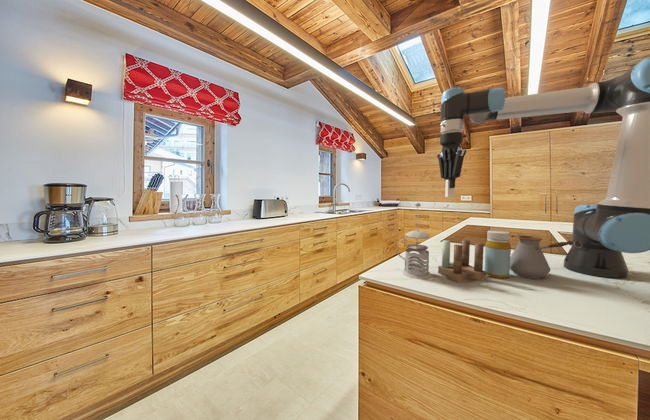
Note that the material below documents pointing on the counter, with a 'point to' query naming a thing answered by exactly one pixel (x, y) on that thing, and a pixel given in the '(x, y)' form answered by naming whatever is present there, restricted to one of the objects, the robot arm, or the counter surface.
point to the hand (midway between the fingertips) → (449, 196)
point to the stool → (465, 264)
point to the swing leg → (446, 254)
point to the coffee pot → (532, 257)
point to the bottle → (497, 254)
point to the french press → (416, 255)
